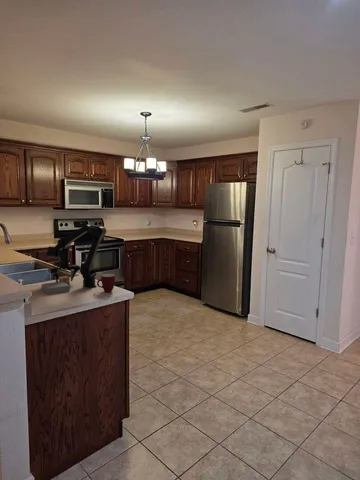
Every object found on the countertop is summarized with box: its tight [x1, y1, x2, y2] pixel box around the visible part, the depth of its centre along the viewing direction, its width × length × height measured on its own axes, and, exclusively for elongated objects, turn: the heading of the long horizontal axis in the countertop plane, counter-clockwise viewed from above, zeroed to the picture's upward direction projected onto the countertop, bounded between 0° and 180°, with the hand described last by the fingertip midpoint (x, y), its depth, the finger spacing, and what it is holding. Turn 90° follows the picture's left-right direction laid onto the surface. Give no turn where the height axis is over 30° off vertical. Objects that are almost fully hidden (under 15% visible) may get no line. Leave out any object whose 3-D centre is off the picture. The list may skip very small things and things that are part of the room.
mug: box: [96, 273, 116, 293], centre depth 187 cm, size 11×8×10 cm
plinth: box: [41, 281, 71, 295], centre depth 186 cm, size 12×12×4 cm
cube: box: [58, 275, 71, 286], centre depth 200 cm, size 5×5×5 cm
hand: (64, 282), depth 200 cm, fingers open, 9 cm apart
